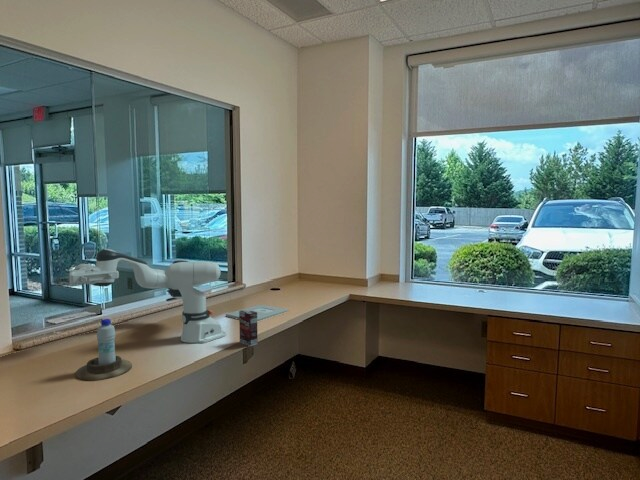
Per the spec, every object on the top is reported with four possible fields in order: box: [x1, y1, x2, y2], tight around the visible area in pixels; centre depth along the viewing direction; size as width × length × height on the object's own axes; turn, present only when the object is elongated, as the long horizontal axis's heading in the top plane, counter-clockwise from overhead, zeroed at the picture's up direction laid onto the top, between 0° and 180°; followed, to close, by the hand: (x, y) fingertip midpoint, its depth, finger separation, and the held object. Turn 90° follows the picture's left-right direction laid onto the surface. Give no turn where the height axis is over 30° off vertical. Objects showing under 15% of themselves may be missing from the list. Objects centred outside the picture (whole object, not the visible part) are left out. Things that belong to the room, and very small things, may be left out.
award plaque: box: [225, 304, 290, 322], centre depth 256 cm, size 25×30×2 cm
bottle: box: [96, 318, 116, 365], centre depth 167 cm, size 7×7×20 cm
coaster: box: [75, 355, 133, 382], centre depth 167 cm, size 20×20×4 cm
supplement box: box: [238, 308, 258, 347], centre depth 200 cm, size 9×5×16 cm, turn 47°
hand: (99, 278), depth 187 cm, fingers open, 8 cm apart
